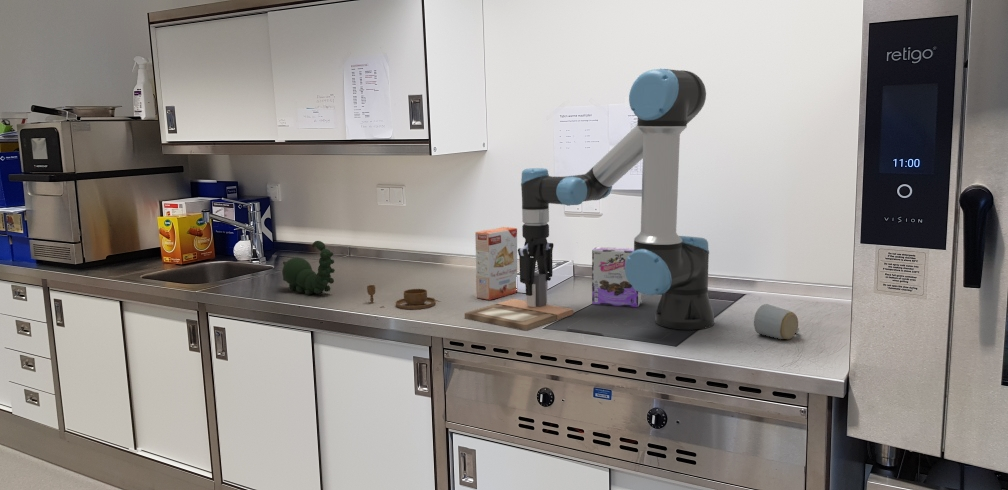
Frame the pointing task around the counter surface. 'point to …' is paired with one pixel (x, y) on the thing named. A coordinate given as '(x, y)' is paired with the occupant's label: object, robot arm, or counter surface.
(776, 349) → the counter surface
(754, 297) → the counter surface
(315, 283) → the toy figurine
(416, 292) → the place setting
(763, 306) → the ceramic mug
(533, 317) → the board
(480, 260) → the cracker box
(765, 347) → the counter surface
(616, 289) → the candy box
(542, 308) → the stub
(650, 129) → the robot arm
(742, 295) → the counter surface
